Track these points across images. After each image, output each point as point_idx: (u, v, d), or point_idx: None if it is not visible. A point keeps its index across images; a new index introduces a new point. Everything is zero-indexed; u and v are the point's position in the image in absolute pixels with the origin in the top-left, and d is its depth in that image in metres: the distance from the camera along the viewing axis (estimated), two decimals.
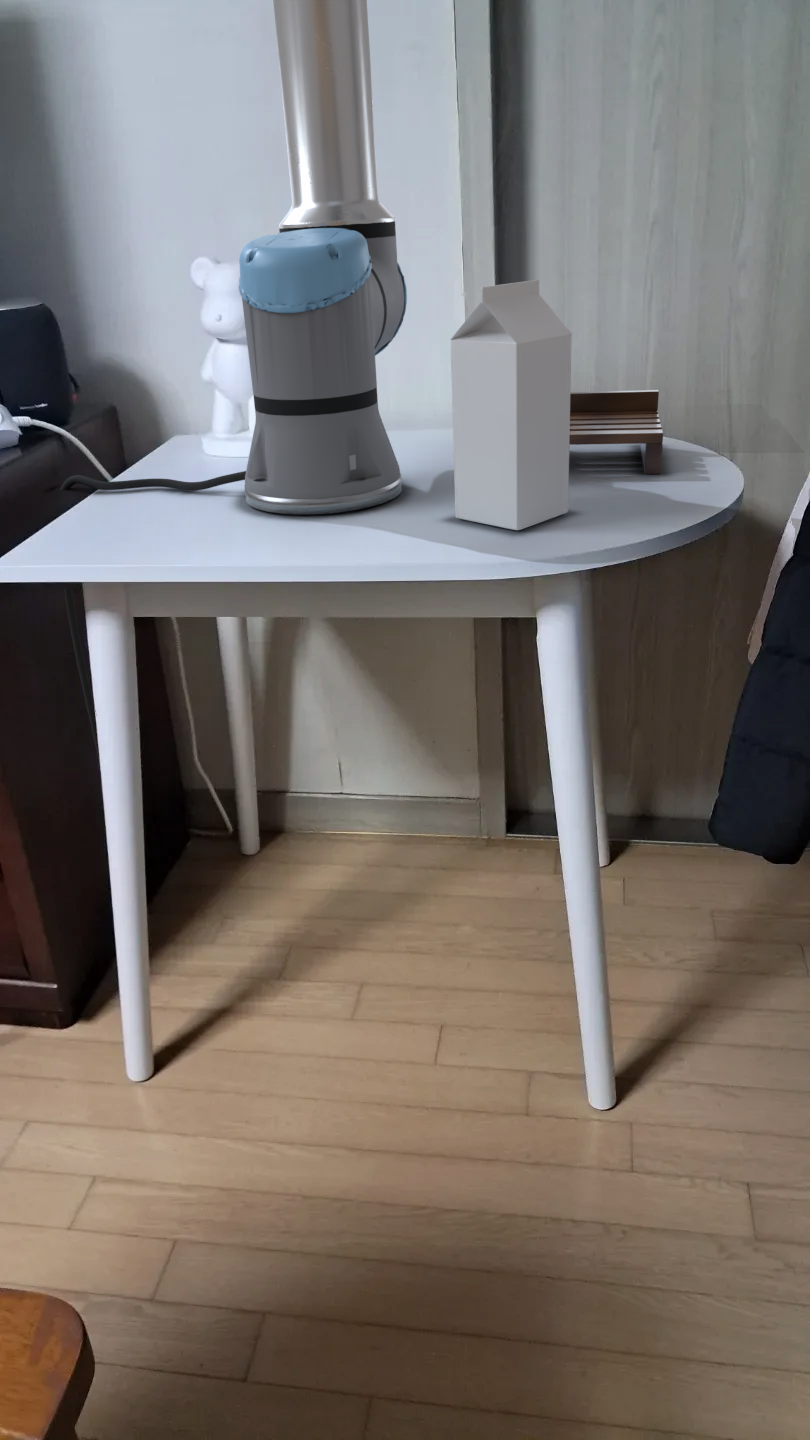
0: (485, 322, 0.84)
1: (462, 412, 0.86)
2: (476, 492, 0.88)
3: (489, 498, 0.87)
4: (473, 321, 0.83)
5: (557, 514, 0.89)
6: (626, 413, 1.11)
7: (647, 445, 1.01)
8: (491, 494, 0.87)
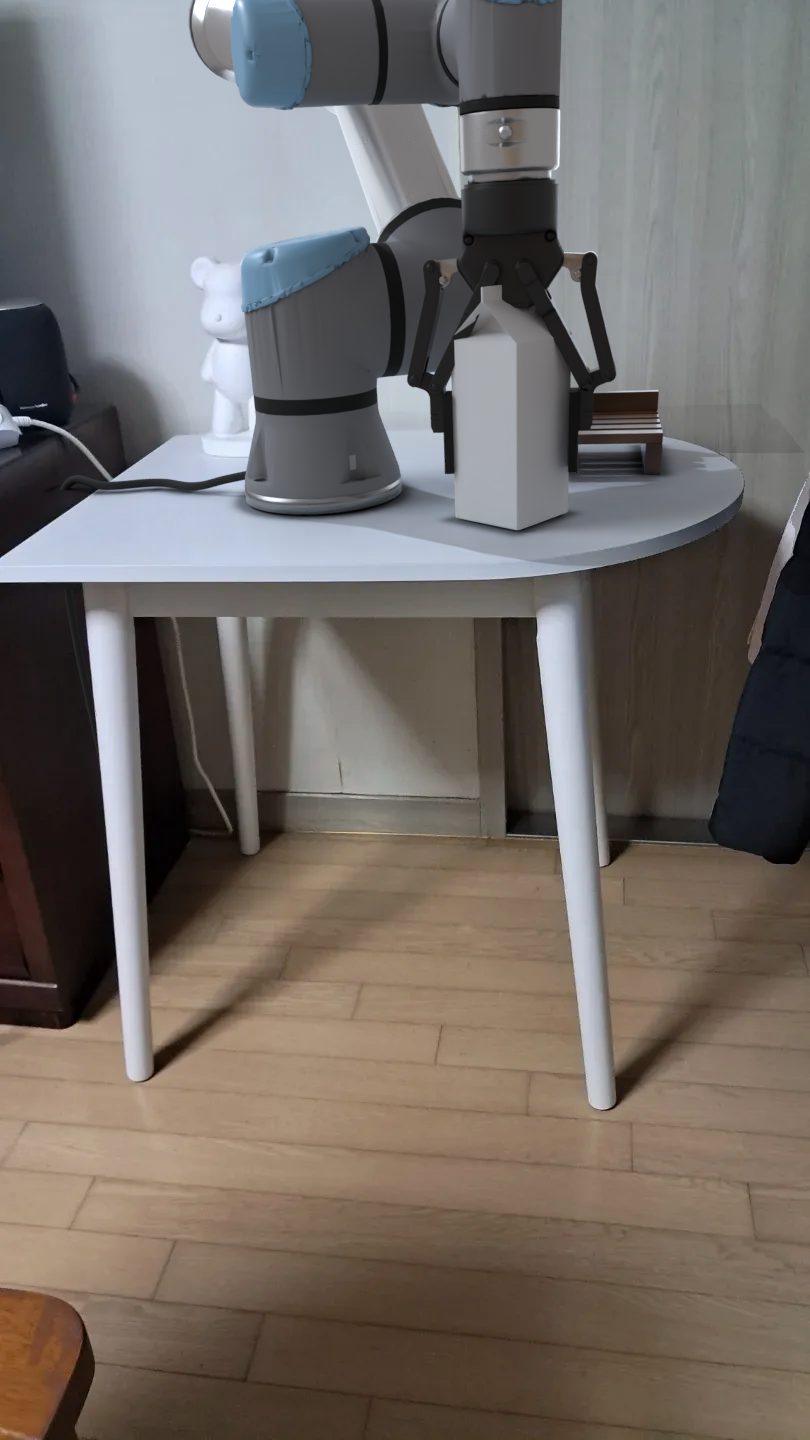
0: (485, 322, 0.84)
1: (462, 412, 0.86)
2: (476, 492, 0.88)
3: (489, 498, 0.87)
4: (473, 321, 0.83)
5: (557, 514, 0.89)
6: (626, 413, 1.11)
7: (647, 445, 1.01)
8: (491, 494, 0.87)
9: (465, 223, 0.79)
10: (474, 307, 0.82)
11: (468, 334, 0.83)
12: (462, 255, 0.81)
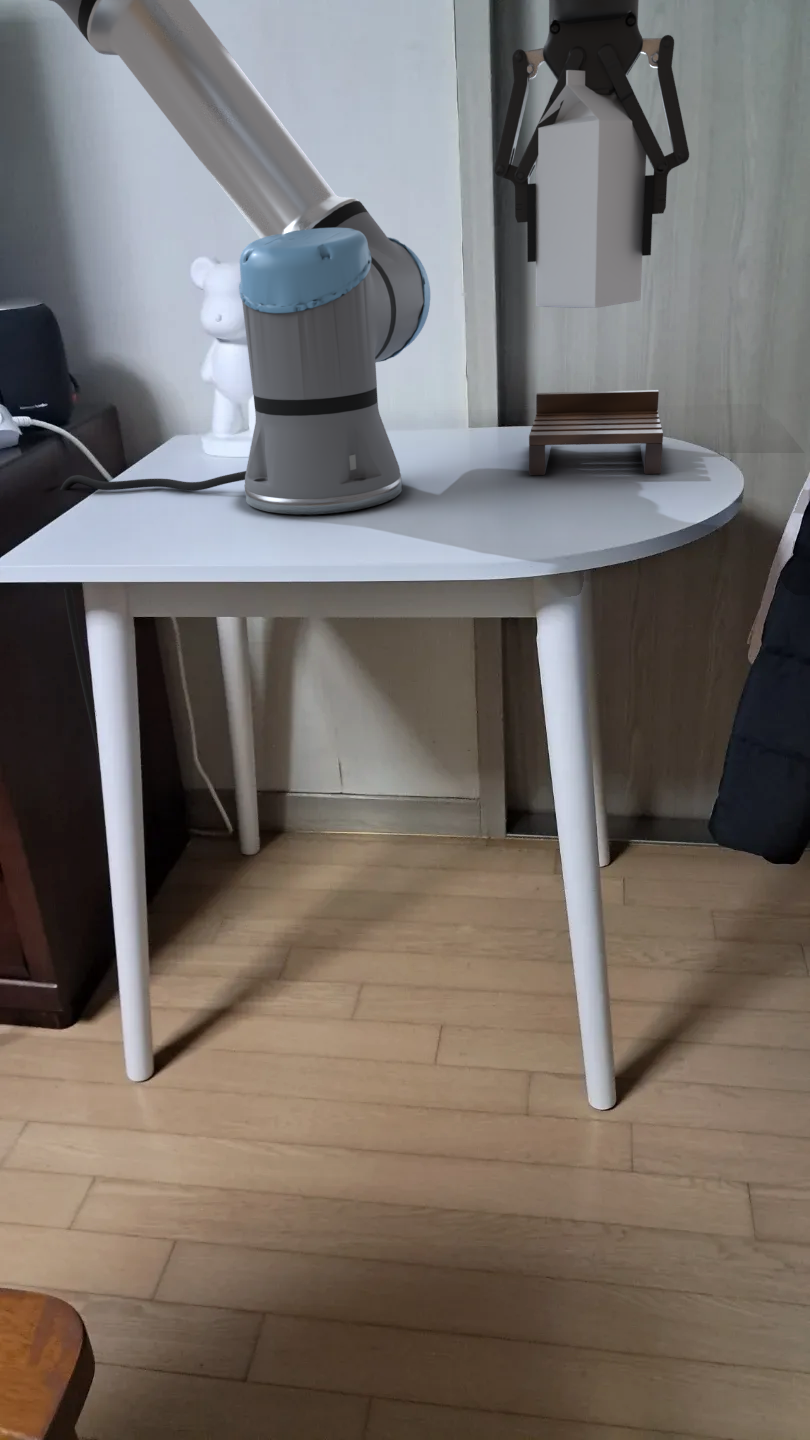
0: (568, 111, 0.91)
1: (545, 198, 0.93)
2: (556, 277, 0.95)
3: (569, 280, 0.95)
4: (557, 108, 0.90)
5: (631, 300, 0.97)
6: (626, 413, 1.11)
7: (647, 445, 1.01)
8: (571, 275, 0.94)
9: (552, 10, 0.87)
10: (559, 93, 0.90)
11: (552, 121, 0.91)
12: (549, 43, 0.89)
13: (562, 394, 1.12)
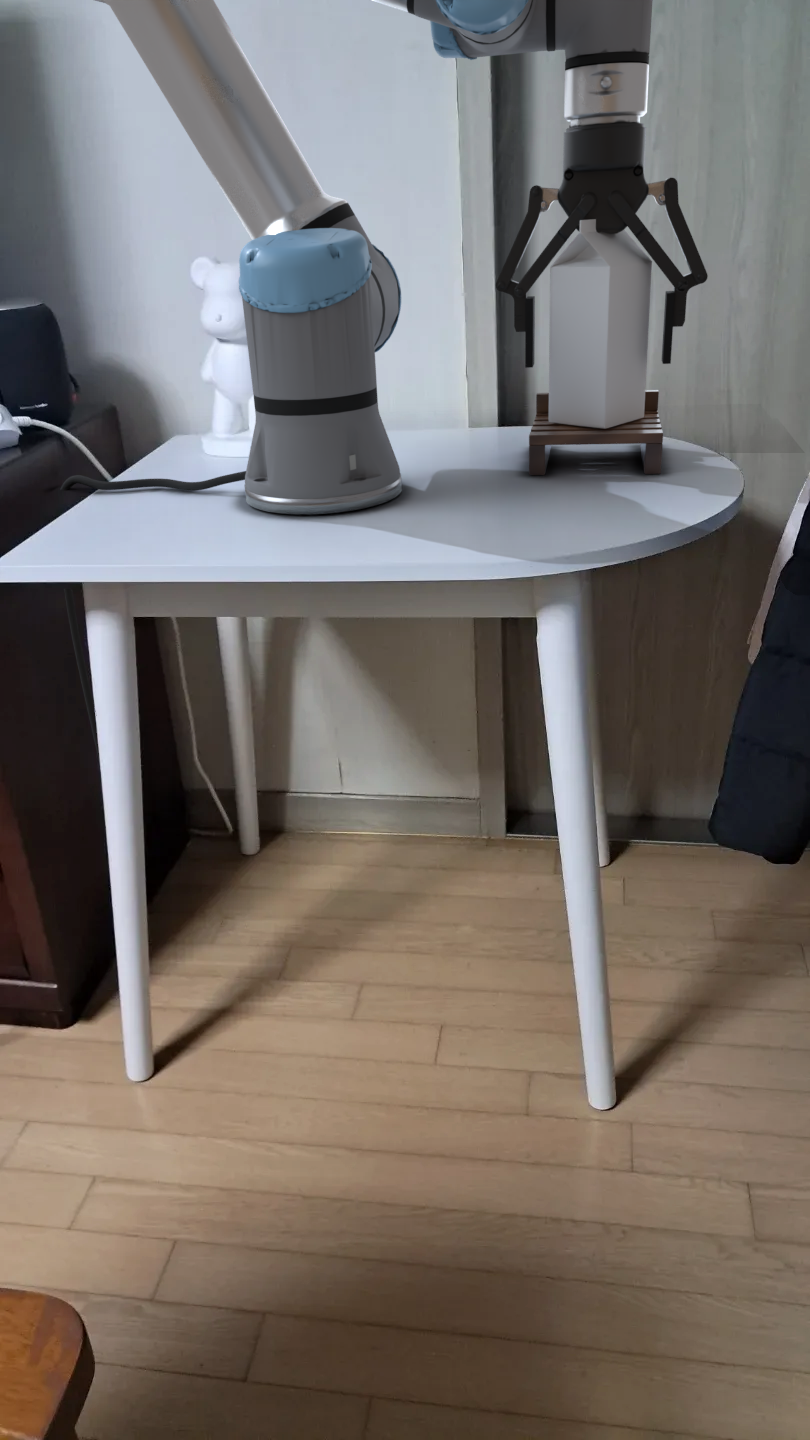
0: (579, 252, 1.00)
1: (558, 329, 1.02)
2: (568, 398, 1.04)
3: (580, 402, 1.03)
4: (570, 250, 0.99)
5: (635, 418, 1.06)
6: None
7: (647, 445, 1.01)
8: (582, 398, 1.03)
9: (567, 161, 0.95)
10: (567, 229, 0.98)
11: (557, 251, 0.99)
12: (563, 188, 0.97)
13: None
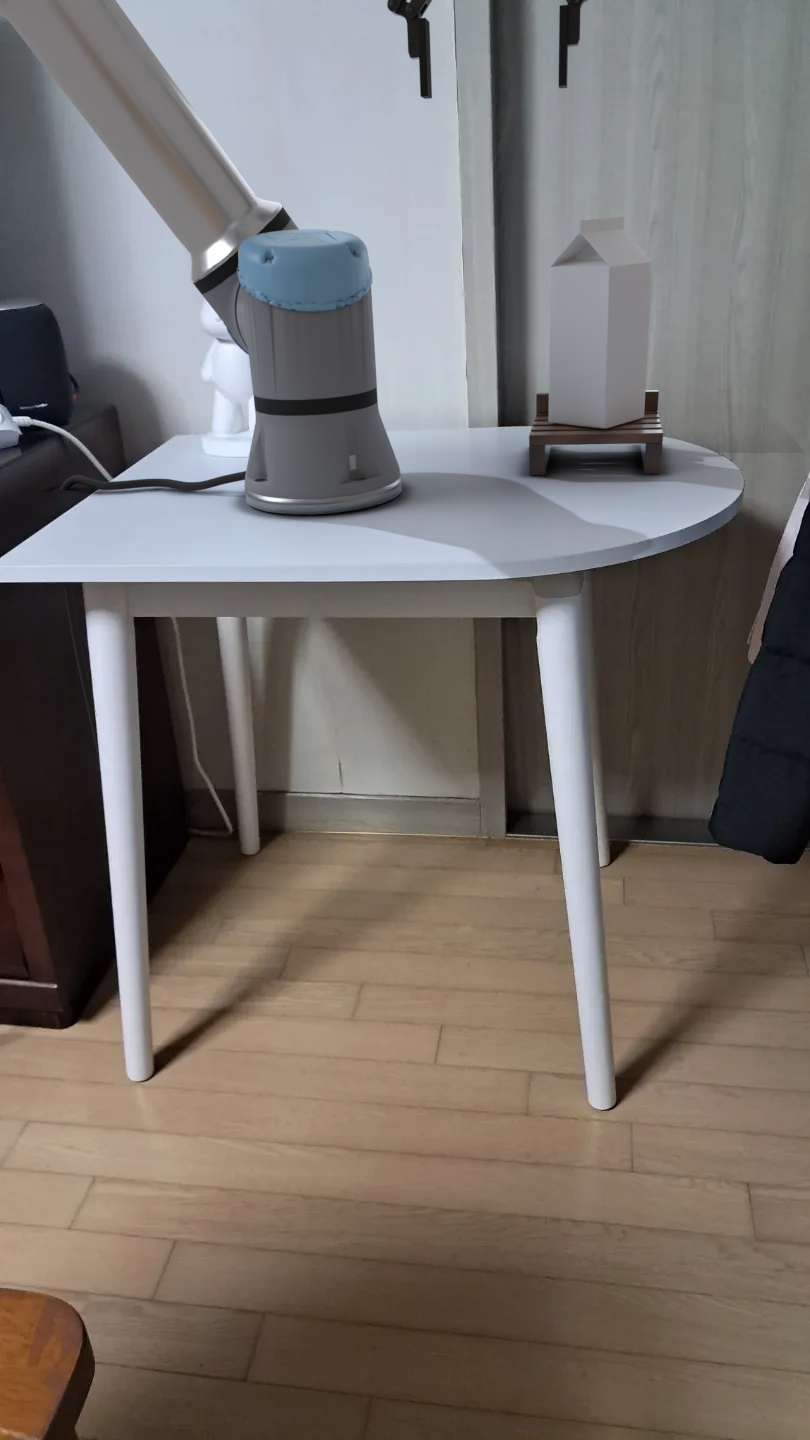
0: (579, 252, 1.00)
1: (558, 329, 1.02)
2: (568, 398, 1.04)
3: (580, 402, 1.03)
4: (570, 250, 0.99)
5: (635, 418, 1.06)
6: None
7: (647, 445, 1.01)
8: (582, 398, 1.03)
9: None
10: None
11: None
12: None
13: None
